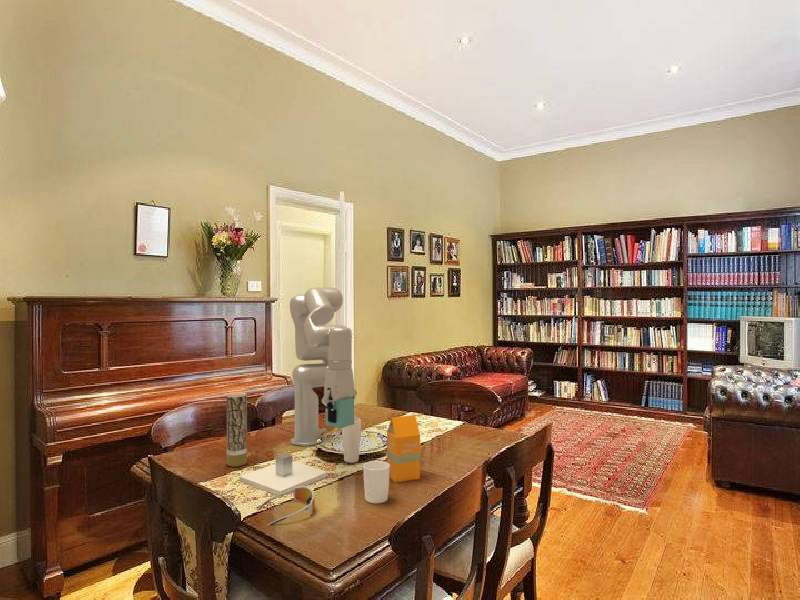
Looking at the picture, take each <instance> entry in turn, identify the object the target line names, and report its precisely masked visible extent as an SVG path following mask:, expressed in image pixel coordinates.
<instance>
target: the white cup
mask: <svg viewBox="0 0 800 600" xmlns="http://www.w3.org/2000/svg"><path fill="white" fill-rule="evenodd" d="M362 468H363V469H362V470H363V471H362V472H363V487H364V488H363V489H364V500H365V501H366V502H367V503H370V504H382V503H385V502H387V501H388V499H389V487H390V477H389V473H390V464H389V463H387V461H385V460H370V461H368V462H365V463H363V465H362Z"/></svg>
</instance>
